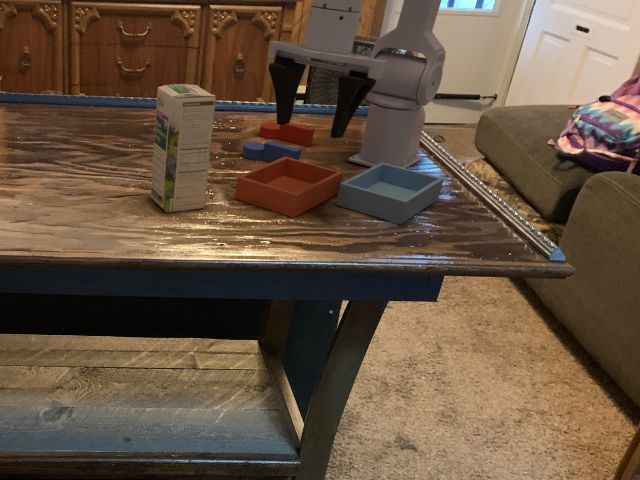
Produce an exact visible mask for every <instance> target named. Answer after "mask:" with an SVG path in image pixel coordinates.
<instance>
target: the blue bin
mask: <svg viewBox="0 0 640 480" xmlns="http://www.w3.org/2000/svg"><path fill="white" fill-rule="evenodd" d="M444 181H445V178H443V177H440V176H436V175H433V174H429V173H424V172H421V171H417V170H413V169H410V168H402V167H398V166H394V165H391V164H387V163H383V162H381V163H379V164H377V165H375V166H373V167H369V168H367V169H365V170H364V171H362V172H359V173H358V174H356V175H354V176H352V177H350V178H348V179H346V180H344V181H341V184H340V189H339V193H338V194H337V198H336V206H339V207H342V208H346V209H348V210H352V211H355V212H358V213H362V214H366V215H369V216H372V217H375V218H378V219H381V220H385V221H388V222H392V223H395V224H398V225H402V224H404V223H405V222H406V221H408V220H410V219H411V218H412V217H414V216H416V215H417V214H419V213H420V212H421V211H423V210H425V209H426V208H428V207H429V206H431V205H432V204H434V203H436V202H437V201H438V200H440V199H439V198H440V196H441V192H442V189H443V184H444Z"/></svg>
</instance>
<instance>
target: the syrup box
mask: <svg viewBox="0 0 640 480" xmlns="http://www.w3.org/2000/svg"><path fill="white" fill-rule="evenodd" d="M156 90H157V91H156V92H157V93H156V110H155V121H154V122H155V125H154V137H153V138H154V139H153V141H154V142H153V150H152V151H153V153H152V169H151V184H150V185H151V187H150V199H151V200H153V201H154V202H155V203H156V204H157V205H158V206H159V207H160V208H161V209H162V210H163V211H164V212H165V213H174V212H183V211H191V210H198V209H205V208H206V207H205V205H206V198H207V197H206V196H207V187H208V177H209V167H210V158H211V147H212V138H213V129H214V120H215V109H216V101H217V100H216V99H217V97H216V96H217V95H215V94H212V93H210V92H209V91H207V90H206V89H204V88H201V87H200V86H199V85H198V84H188V83H187V84H186V83H175V84H166V85H161V86H158V87H157V89H156Z"/></svg>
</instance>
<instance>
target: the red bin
mask: <svg viewBox="0 0 640 480" xmlns="http://www.w3.org/2000/svg"><path fill="white" fill-rule="evenodd" d="M343 174H344V172H343V171H339V170H335V169H332V168H328V167H326V166H322V165H318V164H315V163H310V162H307V161H304V160H300V159H299V160H296V159H293V158H289V157H286V156H285V157H283V158H281V159H278V160H276V161H274V162H268V163H267V164H264V165H262V166H260V167H257V168H255V169H253V170H251V171H248V172H246V173H243V174H241V175H239V176H237V177H236V184H235V185H236V186H235V195H234V199H235V200H238V201H241V202H245V203H248V204H250V205H253V206H257V207H260V208H263V209H266V210H269V211H272V212H275V213H278V214H281V215H284V216H288V217H290V218H296V217H297V216H299V215H302V214H303V213H305V212H306V211H308V210H310V209H312V208H315V207H316V206H318V205H319V204H320V205H321V203H322V204H323V202H325V201H327V200H329V199H331V198H333V197H334V196H335V197H336V195H337V196H338V194H339V189H340V184H341V183H342V179H343Z"/></svg>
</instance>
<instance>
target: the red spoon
mask: <svg viewBox="0 0 640 480" xmlns="http://www.w3.org/2000/svg"><path fill="white" fill-rule="evenodd" d="M259 126H260V127H259V136H260V137H262V138H264V139H271V140H276V139H278V140H281V141H285V142H290V143H293V144H296V145H300V146H304V147H309V146H312V144H313V140H314V135H315V128H313V127H310V126H305V125H302V124H297V123H293V122H291V121H290V122H289V124H283V125H280V124H277V122H271V121H270V122H269V121H268V122H262V123H261V124H260V125H259Z"/></svg>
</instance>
